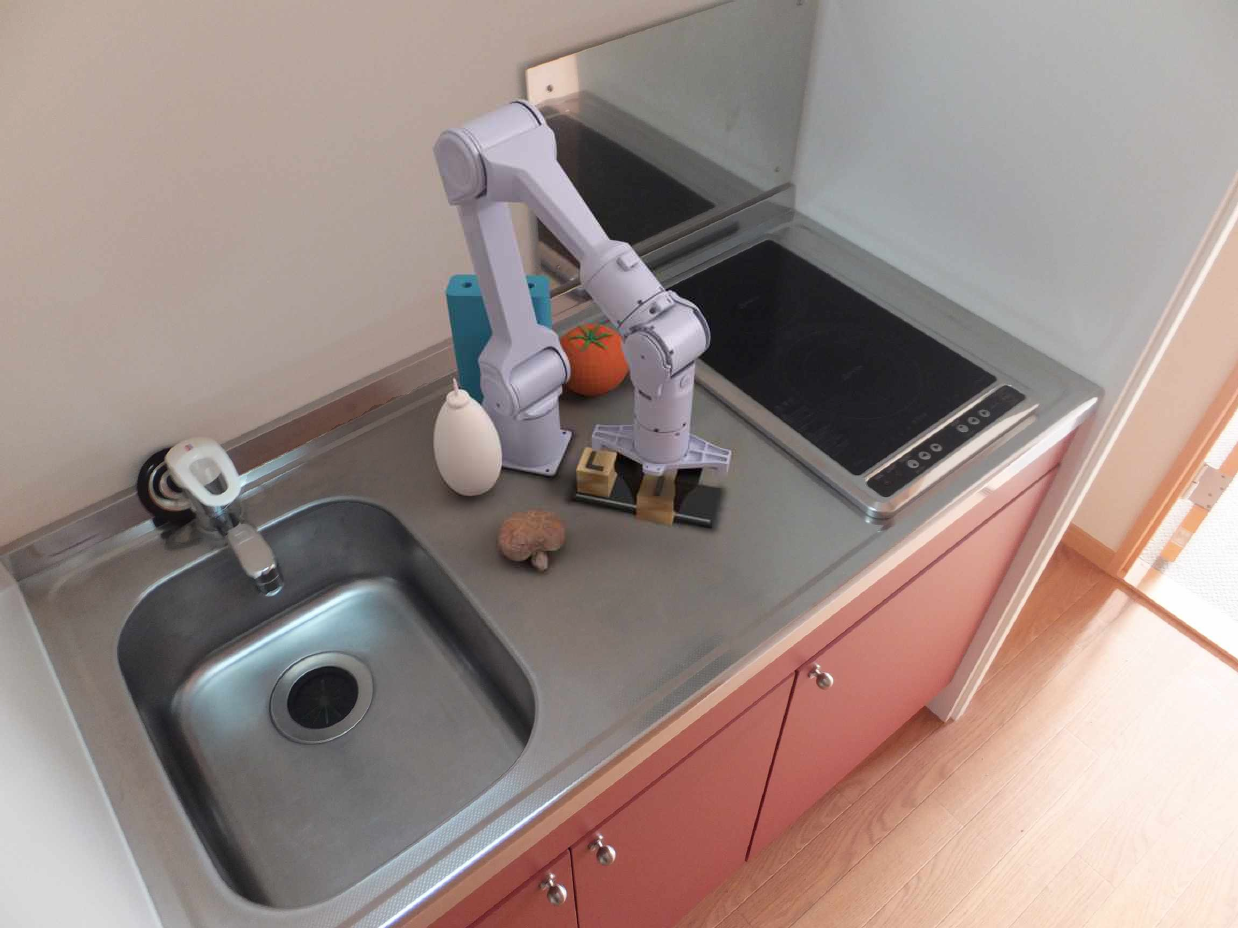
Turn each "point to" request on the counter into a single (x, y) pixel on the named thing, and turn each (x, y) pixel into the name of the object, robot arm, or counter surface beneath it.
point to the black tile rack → (693, 511)
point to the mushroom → (531, 536)
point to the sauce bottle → (466, 445)
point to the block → (483, 324)
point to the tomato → (594, 359)
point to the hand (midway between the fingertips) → (658, 501)
